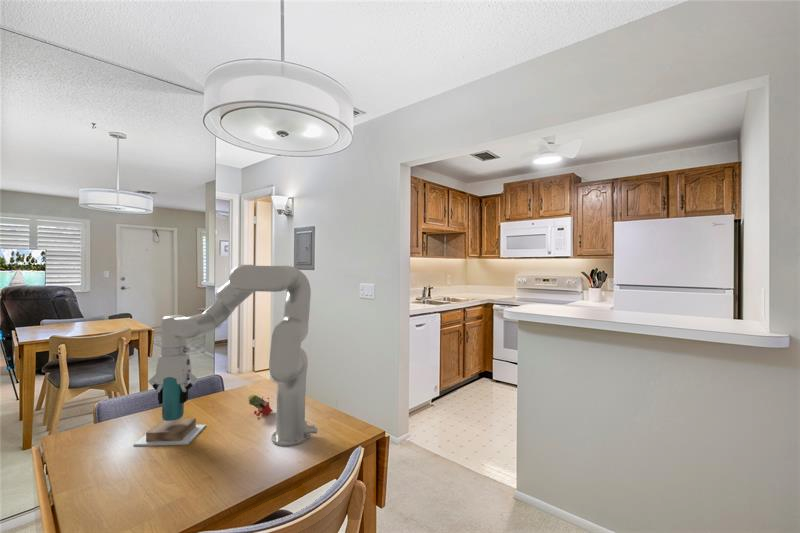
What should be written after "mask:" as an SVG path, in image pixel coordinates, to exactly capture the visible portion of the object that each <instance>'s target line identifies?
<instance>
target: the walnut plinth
mask: <svg viewBox="0 0 800 533" xmlns="http://www.w3.org/2000/svg"><path fill="white" fill-rule="evenodd" d="M196 422H197V418H196V417H193V418H187V417H186V418H180V419H177V420H173V421H165V420H163V419H162V420H161V421H159V422H158V423H156V424H155V425H153V427H151V428H150V429H149V430H148V431H146V433H145V435H146V442H156V441H181V440H182V439H183V438H184V437H185V436H186V435H187V434H189V433H190V432H191V431H192V430H193V429H194V428H195V427H196V425H197V423H196Z"/></svg>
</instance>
